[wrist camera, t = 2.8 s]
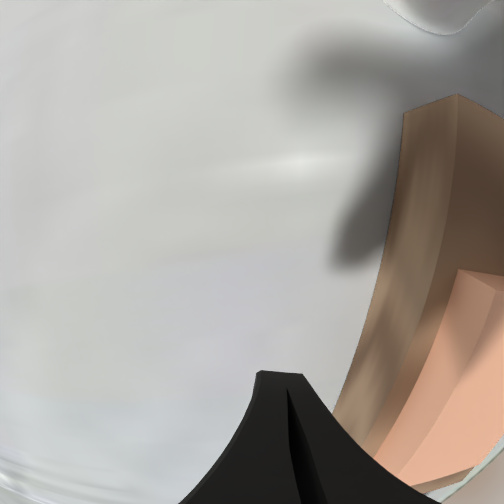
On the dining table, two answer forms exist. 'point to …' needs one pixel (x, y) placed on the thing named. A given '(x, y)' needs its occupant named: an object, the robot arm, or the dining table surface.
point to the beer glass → (438, 13)
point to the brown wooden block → (426, 259)
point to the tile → (454, 389)
